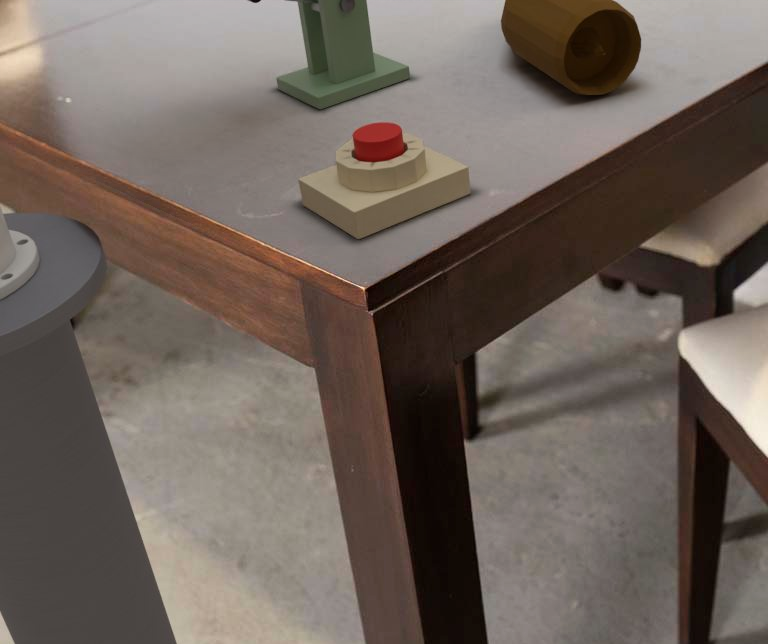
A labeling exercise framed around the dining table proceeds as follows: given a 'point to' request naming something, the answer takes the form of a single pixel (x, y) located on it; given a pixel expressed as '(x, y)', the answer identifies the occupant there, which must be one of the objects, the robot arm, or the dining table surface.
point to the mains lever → (314, 3)
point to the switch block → (383, 187)
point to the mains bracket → (339, 56)
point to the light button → (378, 142)
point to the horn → (575, 41)
